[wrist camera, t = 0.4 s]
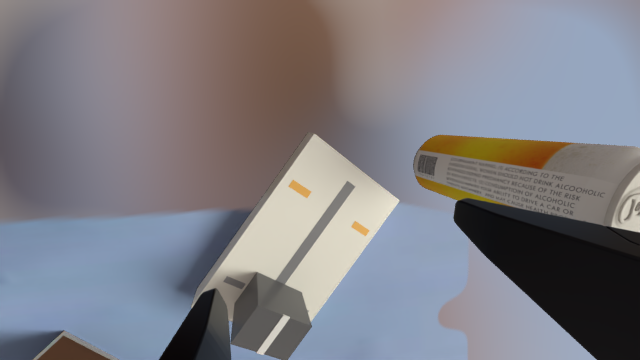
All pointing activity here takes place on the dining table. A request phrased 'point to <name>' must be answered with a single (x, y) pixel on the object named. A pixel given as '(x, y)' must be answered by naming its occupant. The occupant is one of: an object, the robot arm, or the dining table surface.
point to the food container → (72, 350)
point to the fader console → (304, 228)
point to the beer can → (537, 176)
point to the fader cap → (269, 318)
